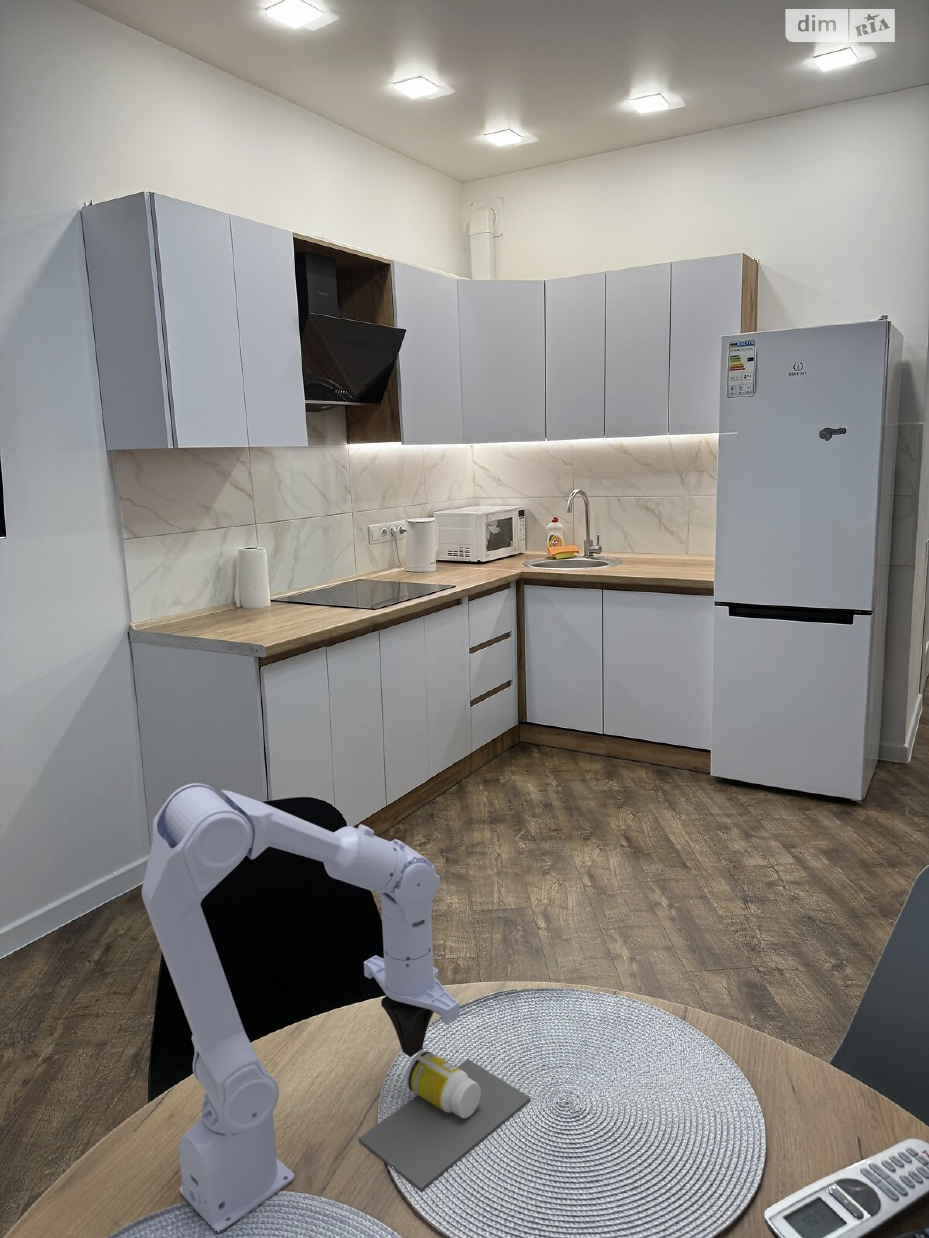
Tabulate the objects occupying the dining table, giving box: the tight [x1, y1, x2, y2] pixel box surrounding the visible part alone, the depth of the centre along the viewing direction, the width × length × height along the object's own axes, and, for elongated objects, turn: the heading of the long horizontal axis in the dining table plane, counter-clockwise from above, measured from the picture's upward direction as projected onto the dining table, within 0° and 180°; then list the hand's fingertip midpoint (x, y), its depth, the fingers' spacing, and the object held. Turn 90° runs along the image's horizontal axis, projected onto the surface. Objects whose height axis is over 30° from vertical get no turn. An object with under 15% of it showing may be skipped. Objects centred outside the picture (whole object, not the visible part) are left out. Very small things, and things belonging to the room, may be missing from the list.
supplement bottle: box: [405, 1050, 481, 1118], centre depth 106 cm, size 5×5×8 cm
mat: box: [358, 1058, 532, 1193], centre depth 104 cm, size 18×10×1 cm, turn 136°
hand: (412, 1050), depth 106 cm, fingers closed
